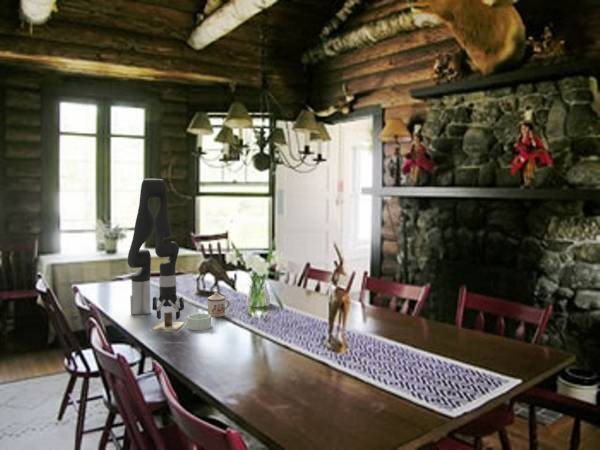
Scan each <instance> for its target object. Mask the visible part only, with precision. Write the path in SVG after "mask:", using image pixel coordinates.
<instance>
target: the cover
mask: <svg viewBox="0 0 600 450" xmlns="http://www.w3.org/2000/svg"><path fill="white" fill-rule="evenodd" d="M163 313H164V314H163V315H164V321H158V322H157V324H155V325H154V326H153V327H151V329H150V330H151V331H150V332H155V331H178V330H179V329H180V328H181V327H182V326H183V325H184V324H186V322H185V321H173V312H172V311H165V312H163Z"/></svg>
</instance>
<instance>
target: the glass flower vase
mask: <svg viewBox="0 0 600 450" xmlns="http://www.w3.org/2000/svg"><path fill="white" fill-rule="evenodd" d="M251 283H252V282H250V283H249V284H248V286H249V289H248V292H247V295H246V305H247V306H248V307H250V306H249V303H250V289H251ZM268 290H269V289H268V287H267V283H266V282H265V299H266V304H267V306H266V307H269V306H270V304H271V303H270V302H271V299H270V298H271V297H270V293H269V291H268Z"/></svg>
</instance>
